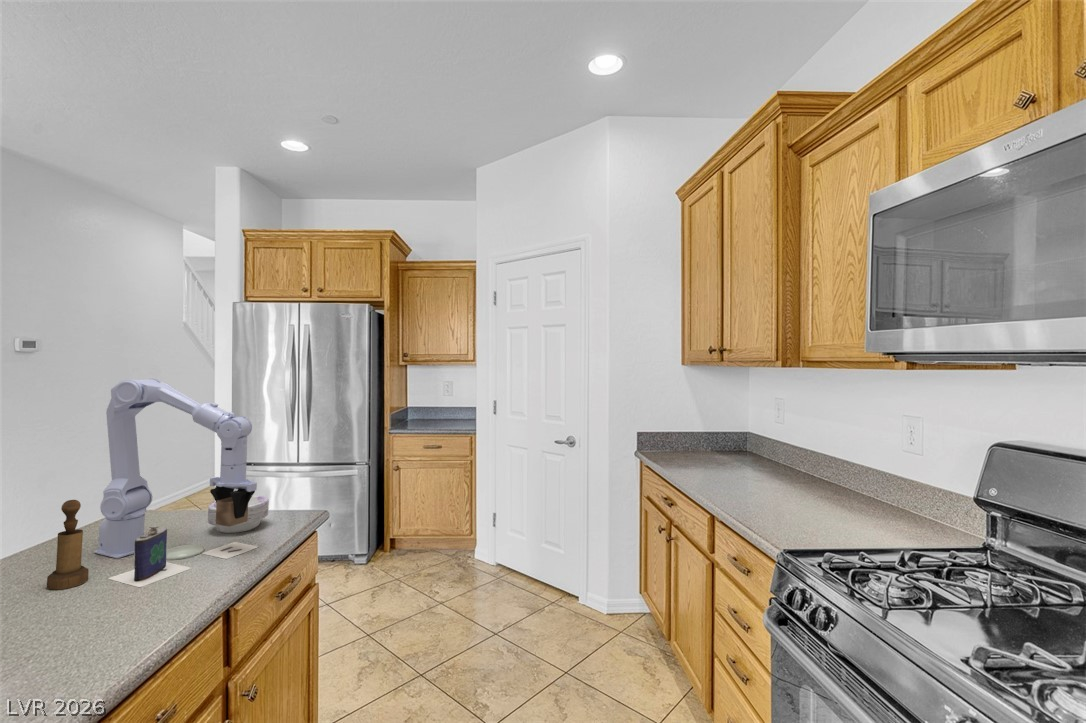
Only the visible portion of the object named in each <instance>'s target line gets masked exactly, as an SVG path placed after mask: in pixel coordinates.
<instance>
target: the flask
mask: <svg viewBox="0 0 1086 723" xmlns="http://www.w3.org/2000/svg"><path fill="white" fill-rule="evenodd" d="M149 528H150V530H148V532H147V533H146V534H145V533H144V536H140V538H137V539H136V540H135V553H134V565H133V566H134V569H135V571H134V582H135V581H142V580H145V579H148V578H150V577H151V576H153V575H155V574H156V573H158V572H159V571H161V570H162V569H163V568H165V566H166V562H167V560H166V550H167V543H168V542H167V541H168V540H167V538H168V537H167V536H168V529H167V528H166V527H159V525H158V526H156V525H151V526H149Z"/></svg>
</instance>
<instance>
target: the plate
mask: <svg viewBox="0 0 1086 723" xmlns="http://www.w3.org/2000/svg"><path fill="white" fill-rule="evenodd" d="M205 549H206V548H205V546H204V545H203V544H198V543H197V544H196V543H193V544H184V545H183V544H182V545H179V546H178V545H177V546H173V547H170V548H166V561H169V560H170V561H174V560H175V561H177V560H184V559H188V558H192V557H193V558H194V557H196V556H199V555H200V554H201V553H204V552H205ZM201 555H202V554H201Z"/></svg>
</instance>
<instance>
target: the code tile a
mask: <svg viewBox="0 0 1086 723" xmlns="http://www.w3.org/2000/svg"><path fill="white" fill-rule="evenodd" d="M192 569H193V568H192V567H188V566H185V565H182V564H176V563H172V562H168V561H166V566H165V568H163V569H162V570H161V571H159V572H158V573H156V574H155V575H153V576H151V577H150V578H148V579H145V580H142V581H135V582H134V571H135V568H134V569H132V570H128V571H125V572H123V573H120V574H117V575H114V576H110V577H108V578H107V580H110V581H114V582H118V583H120V584H121V583H122V584H125V585H129V586H132V587H135V588H143V587H145V586H148V585H150V584H154V583H157V582H159V581H161V580H165V579H167V578H170V577H172V576H175V575H178V574H181V573H184V572H186V571H189V570H192Z"/></svg>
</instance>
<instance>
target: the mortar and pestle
mask: <svg viewBox="0 0 1086 723" xmlns="http://www.w3.org/2000/svg"><path fill="white" fill-rule="evenodd" d="M81 506H82V505H81V502H80V501H79V500H77V499H70V500H66V501H65V502H63V504H62V505H61V512H62V513H63V514H64V516H65V517H66V518H65V521H63V527H64V531H60V532H58V533H57V541H56V542H57V545H56V547H57V548H56V561H55V563H56V564H55V570H53V571H52V572H51V573H49V574H48V576H46V589H48V590H52V591H54V590H56V591H57V590H65V589H71V588H74V587H78V586H80V585H84V584H85V583H87V582H88V580H89V568H87V567H85V566H84V565H82V553H83V538H84V536H83V534H84V530H83V529H76V528H77V525H78V522H79V519H77V518H76V515H77V513H78V512H79V511H80V508H81Z"/></svg>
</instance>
